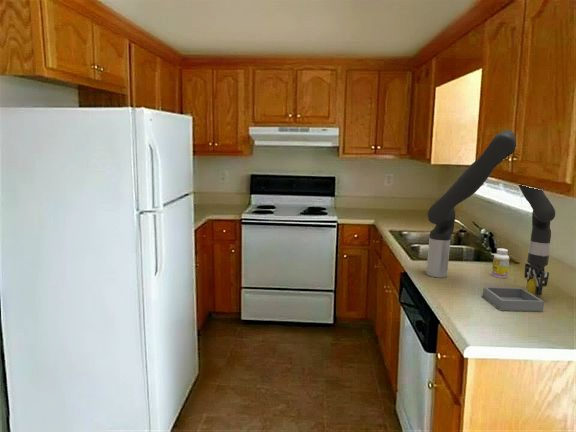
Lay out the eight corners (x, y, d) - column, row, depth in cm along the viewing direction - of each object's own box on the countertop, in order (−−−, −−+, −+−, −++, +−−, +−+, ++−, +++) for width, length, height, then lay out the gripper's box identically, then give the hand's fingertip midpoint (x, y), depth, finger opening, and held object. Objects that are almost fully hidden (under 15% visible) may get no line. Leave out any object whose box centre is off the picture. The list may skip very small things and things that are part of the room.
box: (482, 296, 195) (483, 286, 195) (521, 297, 196) (522, 288, 195) (500, 310, 180) (501, 300, 179) (542, 311, 180) (544, 301, 180)
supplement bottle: (490, 273, 230) (493, 247, 227) (504, 274, 229) (507, 248, 226) (493, 277, 223) (496, 250, 221) (508, 278, 222) (512, 251, 220)
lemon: (542, 296, 198) (545, 277, 197) (538, 299, 194) (540, 280, 193) (528, 293, 202) (530, 274, 201) (523, 295, 198) (526, 277, 197)
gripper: (520, 248, 202) (516, 286, 205) (539, 256, 188) (534, 298, 191) (538, 248, 202) (533, 287, 205) (558, 257, 188) (552, 298, 191)
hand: (533, 292), depth 198 cm, fingers open, 6 cm apart
